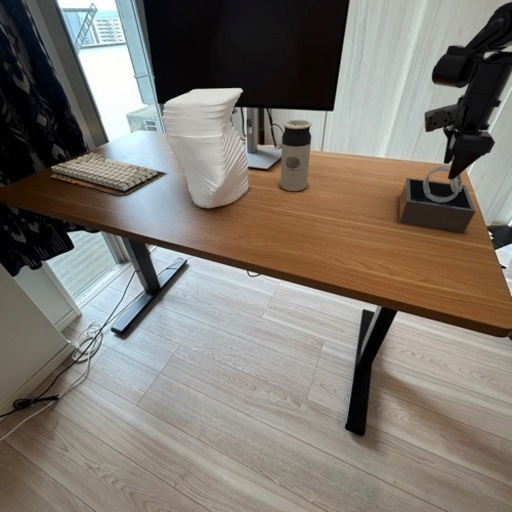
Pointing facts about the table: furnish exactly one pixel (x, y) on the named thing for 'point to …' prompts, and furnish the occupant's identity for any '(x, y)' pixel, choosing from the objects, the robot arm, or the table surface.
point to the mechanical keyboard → (105, 174)
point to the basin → (435, 206)
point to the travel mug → (295, 154)
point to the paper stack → (208, 145)
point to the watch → (436, 199)
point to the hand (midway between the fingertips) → (448, 170)
